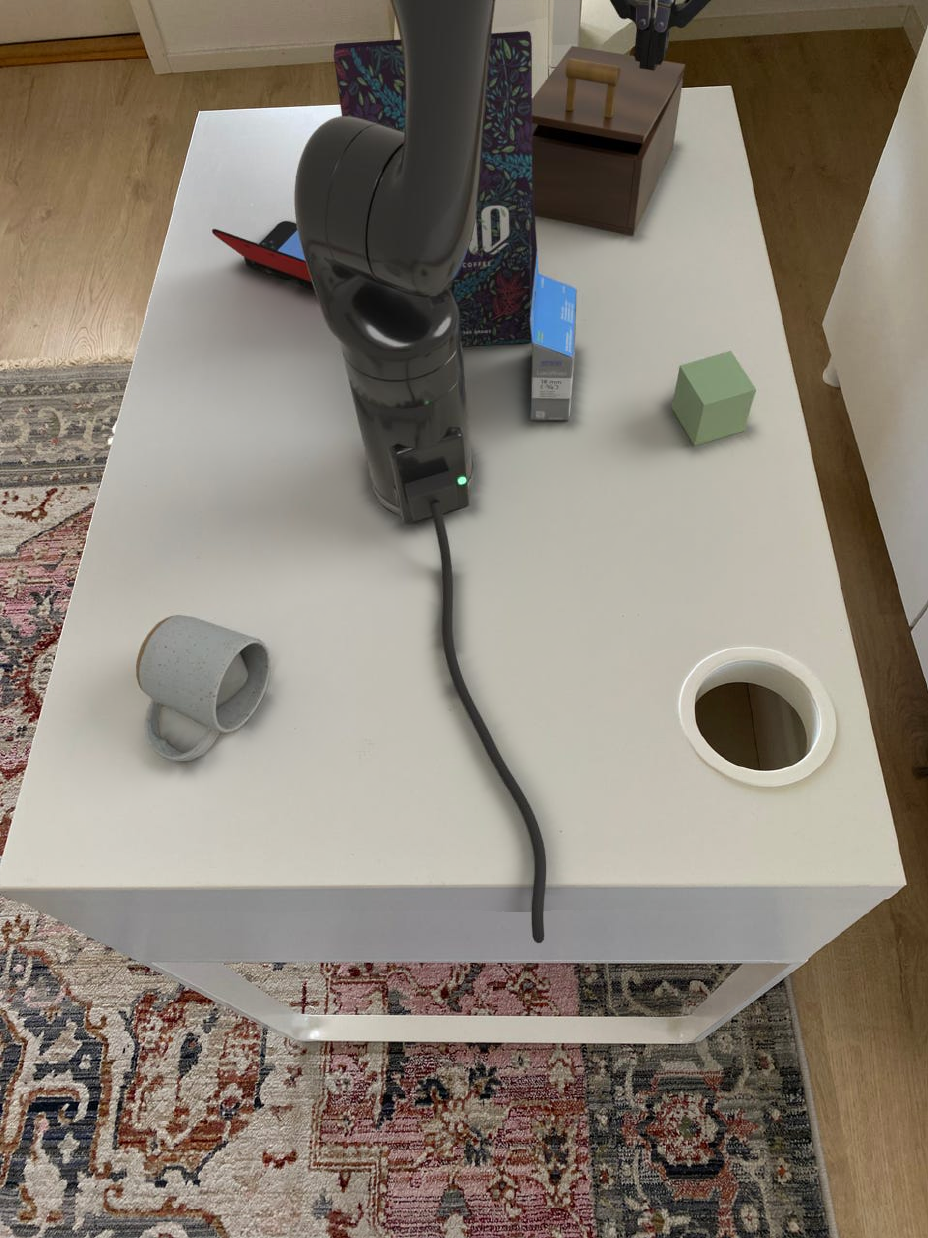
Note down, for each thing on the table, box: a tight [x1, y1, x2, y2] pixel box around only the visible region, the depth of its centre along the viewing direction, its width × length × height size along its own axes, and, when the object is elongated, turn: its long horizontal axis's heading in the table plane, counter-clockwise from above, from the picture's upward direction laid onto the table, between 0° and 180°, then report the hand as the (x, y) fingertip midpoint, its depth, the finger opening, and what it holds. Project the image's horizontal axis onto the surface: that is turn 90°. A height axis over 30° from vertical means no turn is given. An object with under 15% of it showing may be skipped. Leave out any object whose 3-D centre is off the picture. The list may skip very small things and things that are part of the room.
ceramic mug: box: [135, 614, 272, 762], centre depth 73 cm, size 11×8×8 cm
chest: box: [532, 72, 685, 237], centre depth 102 cm, size 16×13×9 cm
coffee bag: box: [333, 30, 538, 347], centre depth 84 cm, size 8×16×28 cm, turn 91°
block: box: [671, 350, 757, 447], centre depth 85 cm, size 5×5×6 cm
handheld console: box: [211, 220, 315, 291], centre depth 98 cm, size 12×11×7 cm
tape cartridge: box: [529, 250, 577, 422], centre depth 86 cm, size 9×4×12 cm, turn 174°
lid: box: [532, 45, 686, 143], centre depth 95 cm, size 16×13×5 cm
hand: (649, 64), depth 89 cm, fingers closed
